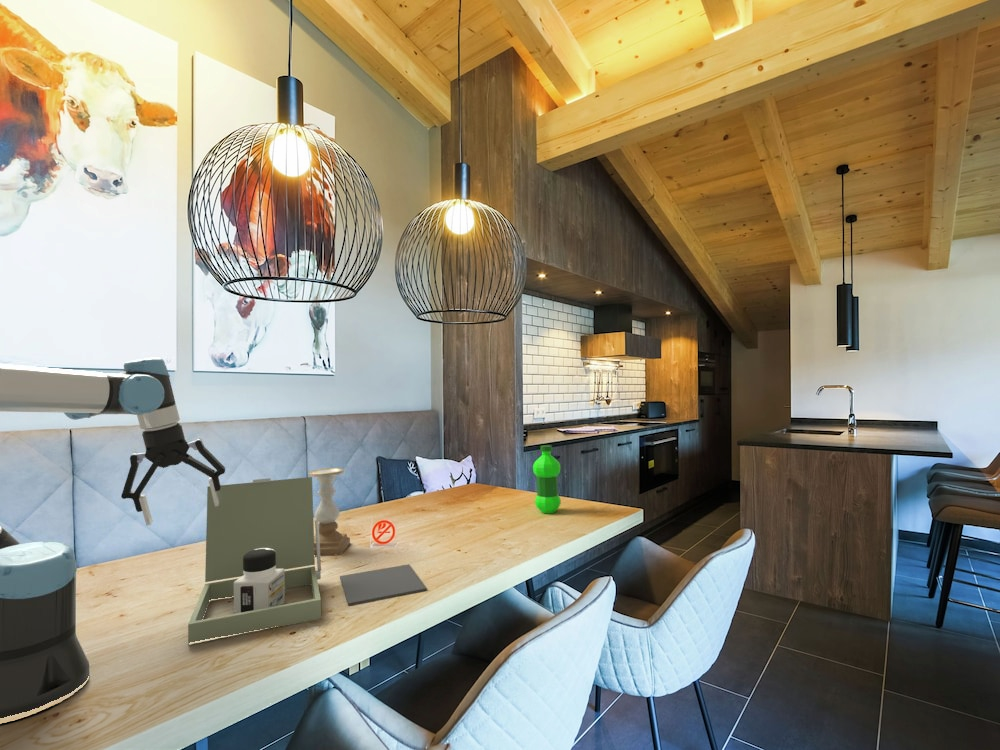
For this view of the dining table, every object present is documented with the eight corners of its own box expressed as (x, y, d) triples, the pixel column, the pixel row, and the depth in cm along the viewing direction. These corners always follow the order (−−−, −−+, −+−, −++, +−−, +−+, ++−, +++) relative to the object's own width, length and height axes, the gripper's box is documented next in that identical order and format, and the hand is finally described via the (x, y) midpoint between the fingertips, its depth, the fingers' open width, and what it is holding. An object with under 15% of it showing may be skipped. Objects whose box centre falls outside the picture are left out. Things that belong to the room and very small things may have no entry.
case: (327, 617, 105) (325, 546, 105) (188, 645, 95) (187, 566, 95) (319, 576, 128) (318, 518, 128) (207, 595, 118) (206, 532, 118)
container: (269, 617, 105) (268, 556, 106) (233, 618, 106) (232, 557, 106) (285, 601, 113) (284, 544, 114) (252, 602, 113) (251, 545, 114)
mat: (426, 590, 117) (426, 588, 117) (348, 605, 110) (348, 603, 110) (409, 566, 134) (409, 564, 134) (340, 577, 127) (339, 576, 127)
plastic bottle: (541, 516, 181) (539, 448, 182) (530, 510, 191) (528, 445, 192) (566, 513, 184) (564, 446, 185) (554, 507, 194) (552, 443, 195)
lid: (312, 474, 130) (311, 475, 132) (207, 483, 121) (208, 484, 122) (314, 564, 124) (314, 564, 126) (204, 582, 115) (205, 581, 116)
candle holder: (350, 543, 156) (349, 467, 156) (340, 554, 145) (339, 473, 145) (315, 544, 155) (314, 468, 156) (302, 556, 144) (301, 474, 145)
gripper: (223, 410, 120) (243, 492, 124) (97, 436, 109) (122, 525, 113) (222, 416, 113) (243, 501, 117) (87, 444, 102) (115, 538, 106)
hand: (184, 513), depth 115 cm, fingers open, 13 cm apart
